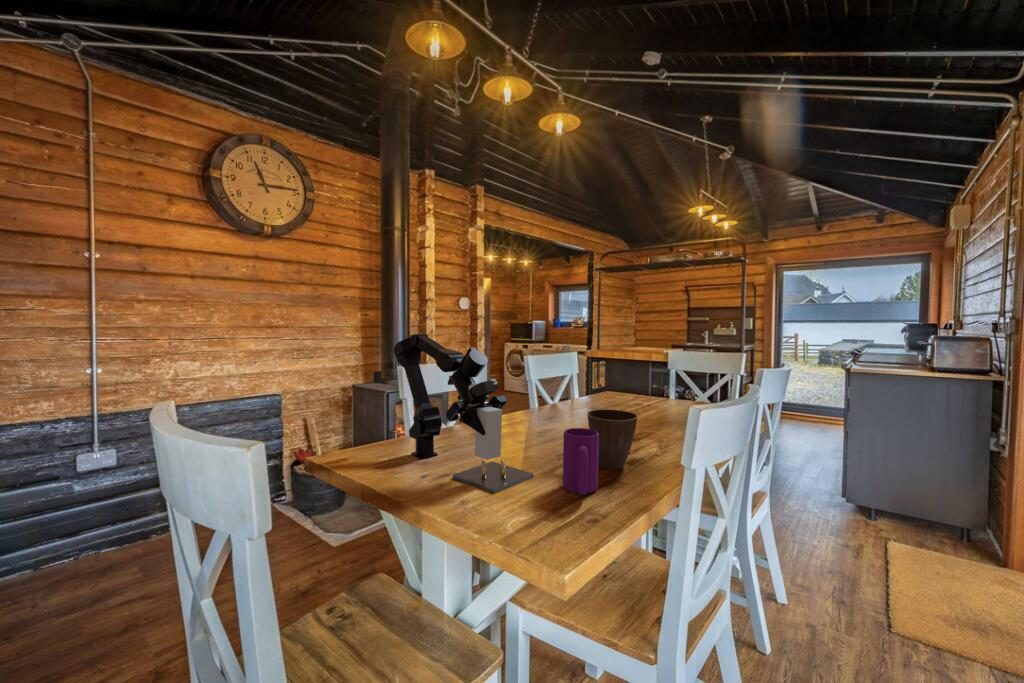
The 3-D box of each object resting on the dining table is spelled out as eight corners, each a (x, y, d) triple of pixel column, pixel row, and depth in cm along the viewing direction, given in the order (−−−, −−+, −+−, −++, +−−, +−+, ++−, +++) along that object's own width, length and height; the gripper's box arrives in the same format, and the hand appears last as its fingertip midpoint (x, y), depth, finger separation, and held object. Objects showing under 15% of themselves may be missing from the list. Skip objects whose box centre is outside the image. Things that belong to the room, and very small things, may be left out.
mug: (595, 482, 119) (596, 428, 119) (603, 506, 104) (604, 444, 103) (562, 481, 120) (563, 427, 119) (564, 504, 105) (565, 442, 104)
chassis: (452, 478, 121) (452, 463, 121) (492, 464, 133) (492, 450, 133) (494, 493, 111) (494, 477, 110) (533, 477, 123) (533, 462, 123)
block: (474, 455, 120) (476, 408, 119) (488, 452, 123) (489, 406, 123) (486, 460, 116) (488, 411, 116) (500, 456, 120) (502, 409, 119)
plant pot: (634, 477, 124) (635, 421, 123) (582, 470, 129) (583, 417, 128) (637, 461, 138) (639, 411, 137) (590, 456, 143) (591, 408, 142)
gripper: (453, 372, 115) (479, 420, 108) (504, 367, 128) (530, 410, 121) (435, 397, 121) (459, 445, 114) (485, 390, 134) (510, 433, 127)
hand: (491, 432), depth 118 cm, fingers closed on block, 5 cm apart
